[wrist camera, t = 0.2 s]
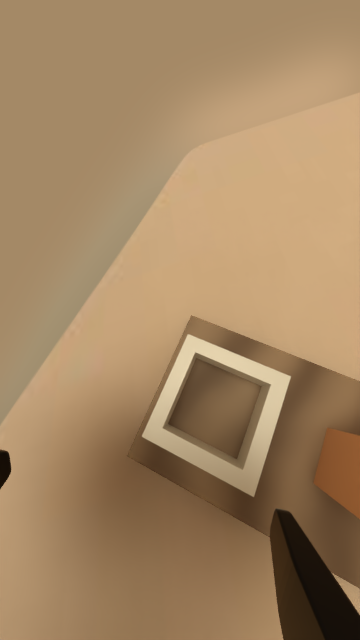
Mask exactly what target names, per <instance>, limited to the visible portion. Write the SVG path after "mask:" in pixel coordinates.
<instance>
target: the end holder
mask: <svg viewBox="0 0 360 640" xmlns="http://www.w3.org/2000/svg"><path fill="white" fill-rule="evenodd" d="M196 358H198V359H200V360H202V361H204V362H207V363H209V364H211V365H214V366H216V367H218V368H221V369H223V370H225V371H228V372H230V373H232V374H234V375H237V376H239V377H241V378H244V379H246V380H248V381H251V382H253V383H255V384H258V385H260V386H262V387H261V390H260V393H259V396H258V398H257V401H256V404H255V407H254V410H253V413H252V416H251V419H250V422H249V425H248V428H247V431H246V434H245V437H244V440H243V443H242V446H241V449H240V452H239V455H238V458H237V459H235V458H233V457H231V456H229V455H227V454H226V453H224V452H222V451H220V450H218V449H216V448H214V447H212V446H210V445H208V444H206V443H204V442H202V441H200V440H198V439H196V438H194V437H192V436H190V435H188V434H187V433H185V432H183V431H181V430H179V429H177V428H175V427H173V426H171V425H169V424H168V422H169V420H170V418H171V415H172V413H173V411H174V408H175V406H176V404H177V401H178V399H179V397H180V394H181V392H182V390H183V387H184V385H185V383H186V380H187V378H188V376H189V373H190V371H191V369H192V366H193V364H194V362H195V359H196ZM290 378H291V376H289V375H286V374H284V373H281V372H279V371H277V370H274V369H272V368H269V367H267V366H264V365H262V364H260V363H257V362H255V361H252V360H250V359H247V358H245V357H243V356H240V355H238V354H235V353H233V352H230V351H228V350H226V349H223V348H221V347H218V346H216V345H214V344H211V343H209V342H206V341H204V340H201V339H199V338H197V337H194V336H192V335H189V334H188V335H187V337H186V339H185V342H184V344H183V346H182V348H181V350H180V353H179V355H178V357H177V359H176V361H175V364H174V366H173V368H172V370H171V373H170V375H169V377H168V379H167V381H166V384H165V386H164V388H163V390H162V392H161V395H160V397H159V399H158V401H157V404H156V406H155V408H154V410H153V412H152V415H151V417H150V419H149V421H148V423H147V426H146V428H145V430H144V432H143V435H142V437H143V438H145V439H147V440H149V441H151V442H153V443H154V444H156V445H158V446H160V447H162V448H164V449H166V450H167V451H169V452H171V453H173V454H175V455H177V456H179V457H180V458H182V459H184V460H186V461H188V462H190V463H191V464H193V465H195V466H197V467H199V468H201V469H203V470H204V471H206V472H208V473H210V474H212V475H214V476H216V477H217V478H219V479H221V480H223V481H225V482H227V483H228V484H230V485H232V486H234V487H236V488H238V489H240V490H241V491H243V492H245V493H247V494H249V495H251V496H253V497H254V495H255V492H256V488H257V485H258V482H259V479H260V475H261V472H262V469H263V466H264V462H265V459H266V456H267V453H268V450H269V446H270V443H271V440H272V437H273V433H274V430H275V427H276V424H277V420H278V417H279V414H280V411H281V407H282V404H283V401H284V398H285V394H286V391H287V388H288V385H289V381H290Z"/></svg>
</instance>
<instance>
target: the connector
mask: <svg viewBox="0 0 360 640" xmlns="http://www.w3.org/2000/svg"><path fill="white" fill-rule="evenodd" d="M313 483H314V484H315V485H316V486H318V487H319V488H320V489H321V490H323V491H324V492H325V493H327V494H328V495H329V496H330V497H332V498H333V499H334V500H336V501H337V502H338V503H340V504H341V505H342V506H343V507H345V508H346V509H347V510H349V511H350V512H351V513H352V514H354V515H355V516H356V517H358V518H359V519H360V436H359V435H355V434H351V433H347V432H343V431H339V430H335V429H331V428H327V431H326V435H325V439H324V443H323V447H322V451H321V455H320V459H319V463H318V467H317V470H316V474H315V478H314V482H313Z"/></svg>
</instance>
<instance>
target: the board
mask: <svg viewBox="0 0 360 640" xmlns="http://www.w3.org/2000/svg"><path fill="white" fill-rule="evenodd" d="M188 334H189V335H192V336H194V337H197V338H199V339H201V340H204V341H206V342H209V343H211V344H214V345H216V346H218V347H221V348H223V349H226V350H228V351H230V352H233V353H235V354H238V355H240V356H243V357H245V358H247V359H250V360H252V361H255V362H257V363H260V364H262V365H264V366H267V367H269V368H272V369H274V370H277V371H279V372H281V373H284V374H286V375H289V376H291V378H290V381H289V385H288V388H287V391H286V394H285V398H284V401H283V404H282V407H281V411H280V414H279V417H278V420H277V424H276V427H275V430H274V433H273V437H272V440H271V443H270V446H269V450H268V453H267V456H266V459H265V462H264V466H263V469H262V472H261V475H260V479H259V482H258V485H257V488H256V492H255V495H254V497H253V496H251V495H249V494H247V493H245V492H243V491H241V490H240V489H238V488H236V487H234V486H232V485H230V484H228V483H227V482H225V481H223V480H221V479H219V478H217V477H216V476H214V475H212V474H210V473H208V472H206V471H204V470H203V469H201V468H199V467H197V466H195V465H193V464H191V463H190V462H188V461H186V460H184V459H182V458H180V457H179V456H177V455H175V454H173V453H171V452H169V451H167V450H166V449H164V448H162V447H160V446H158V445H156V444H154V443H153V442H151V441H149V440H147V439H145V438H143V437H142V435H143V432H144V430H145V428H146V426H147V423H148V421H149V419H150V417H151V415H152V412H153V410H154V408H155V406H156V404H157V401H158V399H159V397H160V395H161V392H162V390H163V388H164V386H165V384H166V381H167V379H168V377H169V375H170V373H171V370H172V368H173V366H174V364H175V361H176V359H177V357H178V355H179V353H180V350H181V348H182V346H183V344H184V342H185V339H186V337H187V335H188ZM261 387H262V386H260V385H258V384H255V383H253V382H251V381H248V380H246V379H244V378H241V377H239V376H237V375H234V374H232V373H230V372H228V371H225V370H223V369H221V368H218V367H216V366H214V365H211V364H209V363H207V362H204V361H202V360H200V359H198V358H196V359H195V362H194V364H193V366H192V369H191V371H190V373H189V376H188V378H187V380H186V383H185V385H184V387H183V390H182V392H181V394H180V397H179V399H178V401H177V404H176V406H175V408H174V411H173V413H172V415H171V418H170V420H169V422H168V424H169V425H171V426H173V427H175V428H177V429H179V430H181V431H183V432H185V433H187V434H188V435H190V436H192V437H194V438H196V439H198V440H200V441H202V442H204V443H206V444H208V445H210V446H212V447H214V448H216V449H218V450H220V451H222V452H224V453H226V454H227V455H229V456H231V457H233V458H235V459H237V458H238V455H239V452H240V449H241V446H242V443H243V440H244V437H245V434H246V431H247V428H248V425H249V422H250V419H251V416H252V413H253V410H254V407H255V404H256V401H257V398H258V396H259V393H260V390H261ZM327 428H331V429H335V430H339V431H343V432H347V433H351V434H355V435H359V436H360V381H357V380H355V379H352V378H350V377H347V376H344V375H342V374H339V373H337V372H334V371H332V370H329V369H327V368H324V367H322V366H319V365H316V364H314V363H311V362H309V361H306V360H304V359H301V358H299V357H296V356H294V355H291V354H288V353H286V352H283V351H281V350H278V349H276V348H273V347H271V346H268V345H266V344H263V343H260V342H258V341H255V340H253V339H250V338H248V337H245V336H243V335H240V334H238V333H235V332H232V331H230V330H227V329H225V328H222V327H220V326H217V325H215V324H212V323H210V322H207V321H204V320H202V319H199V318H197V317H194V316H192V315H191V317H190V320H189V322H188V324H187V326H186V328H185V331H184V333H183V335H182V337H181V339H180V342H179V344H178V346H177V348H176V350H175V352H174V355H173V357H172V359H171V361H170V363H169V366H168V368H167V370H166V372H165V374H164V376H163V379H162V381H161V383H160V385H159V387H158V390H157V392H156V394H155V396H154V398H153V401H152V403H151V405H150V407H149V409H148V411H147V414H146V416H145V418H144V420H143V422H142V425H141V427H140V429H139V431H138V433H137V435H136V438H135V440H134V442H133V444H132V446H131V449H130V451H129V453H128V455H127V456H128V457H130V458H132V459H133V460H135V461H137V462H139V463H140V464H142V465H144V466H146V467H147V468H149V469H151V470H153V471H154V472H156V473H158V474H160V475H161V476H163V477H165V478H167V479H168V480H170V481H172V482H174V483H176V484H177V485H179V486H181V487H183V488H184V489H186V490H188V491H190V492H191V493H193V494H195V495H197V496H198V497H200V498H202V499H204V500H205V501H207V502H209V503H211V504H212V505H214V506H216V507H218V508H219V509H221V510H223V511H225V512H226V513H228V514H230V515H232V516H233V517H235V518H237V519H239V520H240V521H242V522H244V523H246V524H248V525H249V526H251V527H253V528H255V529H256V530H258V531H260V532H262V533H263V534H265V535H267V536H269V537H270V526H271V522H272V518H273V514H274V511H275V509H276V508H278V509H283V510H287V511H289V512H290V513H291V514H292V515H293V516H294V518H295V519H296V521H297V522H298V524H299V525H300V527H301V528H302V530H303V531H304V533H305V534H306V536H307V537H308V539H309V540H310V542H311V543H312V545H313V546H314V548H315V549H316V551H317V552H318V554H319V555H320V557H321V558H322V560H323V561H324V563H325V564H326V566H327V567H328V569H329V570H330V572H332V573H334V574H335V575H337V576H339V577H341V578H342V579H344V580H346V581H348V582H349V583H351V584H353V585H355V586H356V587H358V588H360V519H359V518H358V517H356V516H355V515H354V514H352V513H351V512H350V511H349V510H347V509H346V508H345V507H343V506H342V505H341V504H340V503H338V502H337V501H336V500H334V499H333V498H332V497H330V496H329V495H328V494H327V493H325V492H324V491H323V490H321V489H320V488H319V487H318V486H316V485H315V484H314V483H313V482H314V478H315V474H316V470H317V467H318V463H319V459H320V455H321V451H322V447H323V443H324V439H325V435H326V431H327Z"/></svg>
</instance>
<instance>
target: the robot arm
mask: <svg viewBox="0 0 360 640" xmlns="http://www.w3.org/2000/svg"><path fill="white" fill-rule="evenodd" d="M10 473H11V463H10V456H9V453H8V452H7V451H4V450H0V489H1V487H2V486H3V484H4V483H5V482H6V480H7V479H8V477H9V475H10ZM270 542H271V551H272V560H273V569H274V578H275V587H276V596H277V604H278V612H279V618H280V623H281V629H282V634H283V639H284V640H360V615H359V613H358V612H357V610H356V609H355V607H354V606H353V604H352V603H351V601H350V600H349V598H348V597H347V595H346V594H345V592H344V591H343V589H342V588H341V586H340V585H339V583H338V582H337V580H336V579H335V577H334V576H333V574H332V573H331V572H330V570H329V569H328V567H327V566H326V564H325V563H324V561H323V560H322V558H321V557H320V555H319V554H318V552H317V551H316V549H315V548H314V546H313V545H312V543H311V542H310V540H309V539H308V537H307V536H306V534H305V533H304V531H303V530H302V528H301V527H300V525H299V524H298V522H297V521H296V519H295V518H294V516H293V515H292V514H291V513H290V512H289V511H287V510H283V509H278V508H276V509H275V511H274V514H273V518H272V522H271V526H270Z"/></svg>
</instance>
